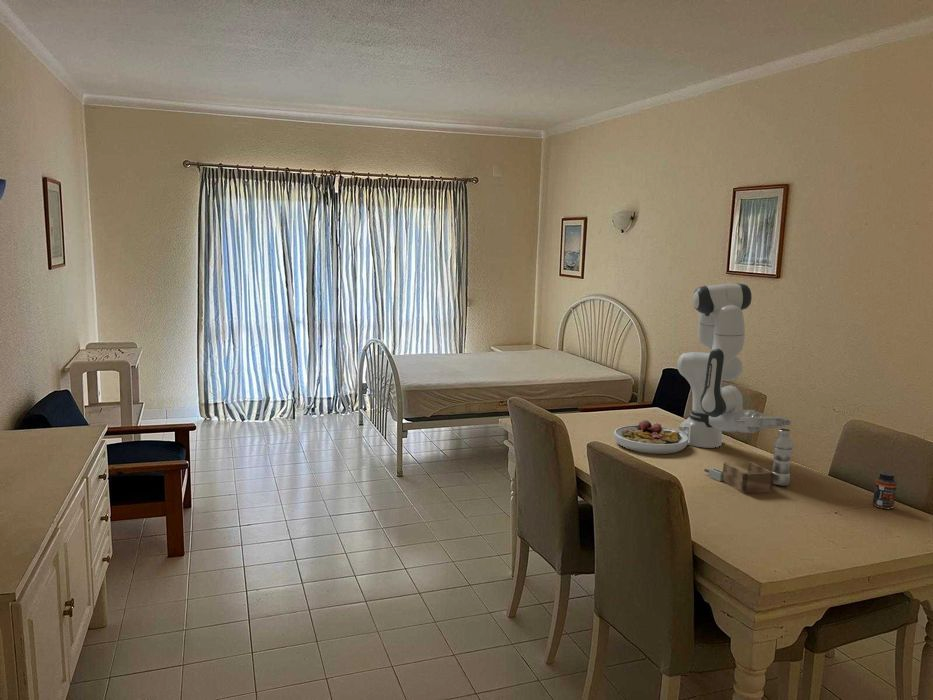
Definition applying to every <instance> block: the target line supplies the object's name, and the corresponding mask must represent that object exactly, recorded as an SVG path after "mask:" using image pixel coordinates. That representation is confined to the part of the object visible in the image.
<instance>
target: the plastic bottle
mask: <svg viewBox="0 0 933 700" xmlns="http://www.w3.org/2000/svg"><path fill="white" fill-rule="evenodd" d="M790 436H791V430H790V429H788V428H779V429H778V436H777V437H776V439H774V441H773V463H772V469H771V472H773V473H774V478H773V485H777V486H783V487H784V486H788V485H789V484H790V482H791V481H790V480H791V474H790V473H791V472H790V471H791V470H790V469H791V468H790V464H791V457H792V452H793V449H794V444H793V441H792V439H791V438H790Z"/></svg>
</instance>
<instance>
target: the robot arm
mask: <svg viewBox="0 0 933 700" xmlns="http://www.w3.org/2000/svg"><path fill="white" fill-rule="evenodd" d="M752 296H753V295H752V291H751V288H750V287H749V286H748V285H747V284H745V283H744V284H743V283H720V284H713V285H712V284H711V285H702V286H699V287H696V288H695V290H694V292H693V294H692V303H693V307H694V309H695V310H696V311H697V312H698V323H697V333H696V334H697V340H698V342H699V343H700V344H701V345H703V346H705V347H706V348H708V349H709V350H710V352H702V351H699V352H698V351H690V352H683V353H681V354H680V355H679V357H678V359H677V362H676V368H677V371H678V372H679V374H680V375H681V376H682V377H683V378H685V380H686V381H687V382H688V384H689V385H690V389H691V391H692V393H691V394H692V406H691V407H692V409H690V410H689V412H688V413H689V416H688V418H686V419H685V420H683V421H682V422H681V423H680V425H679V428H678V429H679V430H678V431H680V432H682V433H684V434H685V435H687V436H688V443H687V445H686V446H693V447H696V448H697V447H698V448H707V449H708V448H709V449H713V448H715V447H716V448H719V446H720V447H721V446H722V443H723V444H725V441H724V439H723V432H728V433H734V432H739V433H746V434H754V433H757V432H760V431H765V430H766V429H775V428H776V429H777V428H779V429H780V428H785V427H786V426H791V425H792V420H791V419H787V418H786V417H783V416H778V415H770V414H766V413H764V412H759V411H757V410H755V409H744V396H743V393H742V391H741V390H740V388H739V387H737V386H735V385H734V384H733V385H732V384H731V385H730V384H729V385H725V386H723V381H734V380H737V379H738V378H739V377H740V376H741V375H742V372H743V363H742V361H741V359H740V358H739V357H738V355H739V354H740V353H741V352H742V350H743V348H744V345H745V333H746V331H745V330H746V329H745V319H744V314H743V310H746V309H748V307H750V305H751V303H752Z"/></svg>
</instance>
